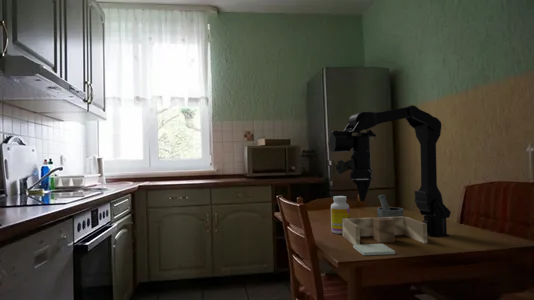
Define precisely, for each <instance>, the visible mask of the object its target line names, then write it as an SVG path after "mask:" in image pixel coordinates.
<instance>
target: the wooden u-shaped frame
mask: <svg viewBox="0 0 534 300" xmlns="http://www.w3.org/2000/svg"><path fill="white" fill-rule="evenodd" d="M373 218H374V217H357V218H356V217H354V218H352V217H350V219H342V225H343V234H342V237H344V239H346V240H347V241H349V242H350V243H351V244H352V245H361V237H374V233H373ZM376 218H381V217H378V216H377V217H376ZM388 218H391V219H393V220H394V230H395V236H401V235H405V236H407V237H409V238H411V239H413V240H415V241H418V242H419V243H421V242H422V244H428V235H427V224H426V223H423V221H420V220H417V219H414V218H412V217H409V216H406V215H405V216H404V215H403V217H388Z"/></svg>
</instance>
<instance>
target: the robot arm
mask: <svg viewBox="0 0 534 300" xmlns="http://www.w3.org/2000/svg"><path fill="white" fill-rule="evenodd" d="M403 119H405V120H406V121H407V123H408V125H409V126H410V127H411V128H413V129H414V133H415V138H416V139H417V140H418V143H419V145H420V179H421V180H420V183H421V184H420V188H419V189H418V190H415V191H414V196H415V197H414V201H413V203H415V205H416V207H417V209H418V210H419V213H420V215H422V216H423V220H422V222H423V223H426V224H427V236H430V237H449V236H450V234H449V233H447V229H448V228H447V227H448V226H447V219H449V218H450V216H451V210H450V209H449V208H448V207H447V206H446V205H445V204H444V200H443V195H442V193H441V191H440V189H439V187H438V177H437V176H438V174H437V173H438V172H437V168H438V167H437V143H438V141H439V138H440V136H441V132H442V125H443V124H442V122H441V120H440V119H439V118H438V117H436V116H433V115H432V114H430V113H428V112H426V111H424V110H423V109H420V108H419V107H417V106H416V105H412V104H411V105H407V106H403V107H399V108H395V109H389V110H384V111H379V112H377V111H376V112H375V111H362V112H358V113H354V114H352V115H350V116H349V119H348V124H347V125H346V126H345V128H344V129H343V131H338V130H332V131H331V132H330V135H329V140H328V143H327V144H328V149H329V151H330V152H331V153H349V152H350V151H352V153H351V156H350V159H349V160H346V161H345V160H343V159H340V160H338V161H337V163H336V165H335V166H334V167H335V170H336V172H337V175H341V174H344V173H345V172H347V171H350V170H351V171H350V172H349V175H350V176H349V178H350V181H351V182H353V184H354V185H356V189H357V193H358V195H359V196H358V197H359V200H360V202H364V201H366V198H367V195H368V191H369V189H370V185H371V182H372V179H373V175H374V170H373V169H372V158H371V157H372V154H371V138H375V137H377V134H376V133H374V132H373V130H372V129H371V128H375V127H376V126H378V125H380V124H383V123H388V122H392V121H393V122H394V121H397V120H403ZM365 130H366V131H365ZM363 131H364V132H363ZM353 134H356V135H353Z"/></svg>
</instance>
